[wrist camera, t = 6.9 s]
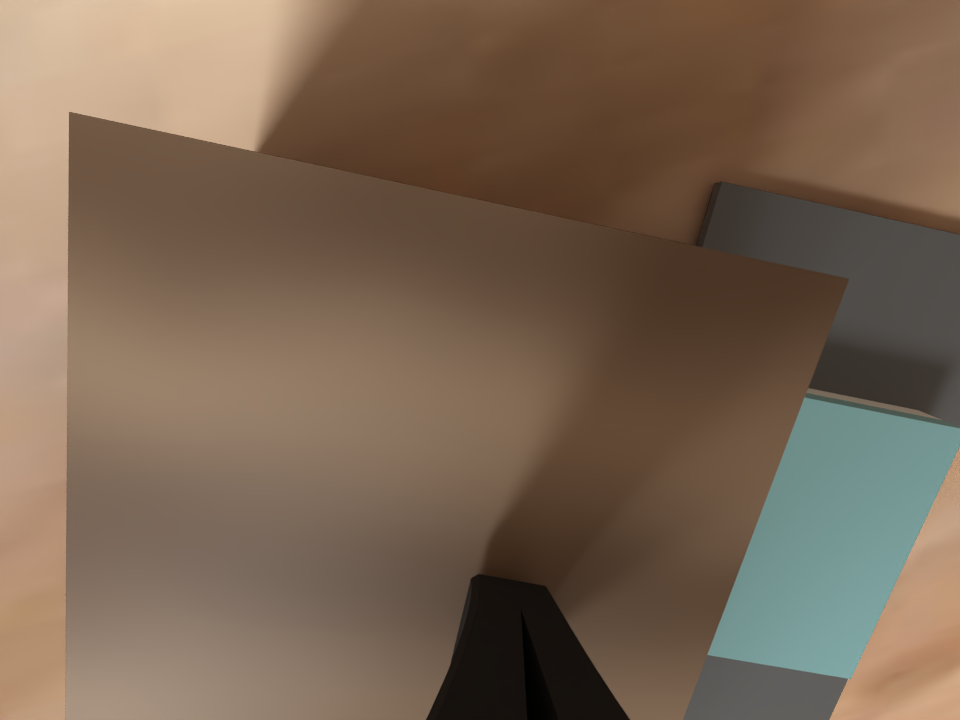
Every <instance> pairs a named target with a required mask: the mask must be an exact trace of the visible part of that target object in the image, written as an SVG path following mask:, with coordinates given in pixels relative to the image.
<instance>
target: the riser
mask: <svg viewBox="0 0 960 720" xmlns="http://www.w3.org/2000/svg"><path fill="white" fill-rule="evenodd" d="M848 281H849V279H848V278H843V277H838V276H834V275H829V274H824V273H820V272H815V271H810V270H806V269H801V268H796V267H792V266H787V265H782V264H778V263H773V262H768V261H764V260H759V259H754V258H750V257H745V256H740V255H736V254H731V253H726V252H722V251H717V250H712V249H708V248H703V247H698V246H694V245H689V244H684V243H679V242H675V241H670V240H665V239H661V238H656V237H651V236H647V235H642V234H637V233H633V232H628V231H623V230H619V229H614V228H609V227H605V226H600V225H595V224H591V223H586V222H581V221H577V220H572V219H567V218H563V217H558V216H553V215H549V214H544V213H539V212H535V211H530V210H525V209H521V208H516V207H511V206H507V205H502V204H497V203H493V202H488V201H483V200H479V199H474V198H469V197H464V196H460V195H455V194H450V193H446V192H441V191H436V190H432V189H427V188H422V187H418V186H413V185H408V184H404V183H399V182H394V181H390V180H385V179H380V178H376V177H371V176H366V175H362V174H357V173H352V172H348V171H343V170H338V169H334V168H329V167H324V166H320V165H315V164H310V163H306V162H301V161H296V160H292V159H287V158H282V157H278V156H273V155H268V154H264V153H259V152H254V151H249V150H245V149H240V148H235V147H231V146H226V145H221V144H217V143H212V142H207V141H203V140H198V139H193V138H189V137H184V136H179V135H175V134H170V133H165V132H161V131H156V130H151V129H147V128H142V127H137V126H133V125H128V124H123V123H119V122H114V121H109V120H105V119H100V118H95V117H91V116H86V115H81V114H77V113H72V112H69V216H68V368H67V520H66V671H65V720H426V719H427V716H428V714H429V712H430V710H431V708H432V706H433V703H434V701H435V699H436V697H437V694H438V692H439V690H440V688H441V685H442V683H443V681H444V679H445V676H446V674H447V672H448V669H449V667H450V664H451V659H452V655H453V650H454V646H455V642H456V638H457V634H458V630H459V626H460V621H461V617H462V613H463V609H464V605H465V601H466V597H467V592H468V588H469V584H470V580H471V578H472V577H474V576H476V575H477V574H483V575H488V576H494V577H499V578H505V579H510V580H516V581H521V582H527V583H533V584H538V585H544V586H546V587H547V589H548V590H549V592H550V593H551V595H552V597H553V598H554V600H555V602H556V603H557V605H558V607H559V608H560V610H561V612H562V613H563V615H564V617H565V619H566V620H567V622H568V624H569V625H570V627H571V629H572V630H573V632H574V634H575V635H576V637H577V638H578V640H579V642H580V643H581V645H582V647H583V648H584V650H585V652H586V653H587V655H588V656H589V658H590V660H591V661H592V663H593V664H594V666H595V667H596V669H597V670H598V672H599V674H600V675H601V677H602V678H603V680H604V681H605V683H606V684H607V686H608V687H609V689H610V690H611V692H612V693H613V695H614V696H615V698H616V700H617V701H618V703H619V704H620V705H621V707H622V708H623V710H624V711H625V713H626V714H627V716H628V717H629V719H630V720H683V718H684V716H685V713H686V710H687V708H688V705H689V702H690V700H691V697H692V694H693V692H694V689H695V686H696V684H697V681H698V678H699V676H700V673H701V670H702V668H703V665H704V663H705V660H706V657H707V655H708V652H709V649H710V647H711V644H712V641H713V639H714V636H715V633H716V631H717V628H718V625H719V623H720V620H721V618H722V615H723V612H724V610H725V607H726V604H727V602H728V599H729V596H730V594H731V591H732V588H733V586H734V583H735V580H736V578H737V575H738V572H739V570H740V567H741V565H742V562H743V559H744V557H745V554H746V551H747V549H748V546H749V543H750V541H751V538H752V535H753V533H754V530H755V527H756V525H757V522H758V519H759V517H760V514H761V512H762V509H763V506H764V504H765V501H766V498H767V496H768V493H769V490H770V488H771V485H772V482H773V480H774V477H775V474H776V472H777V469H778V467H779V464H780V461H781V459H782V456H783V453H784V451H785V448H786V445H787V443H788V440H789V437H790V435H791V432H792V429H793V427H794V424H795V421H796V419H797V416H798V414H799V411H800V408H801V406H802V403H803V400H804V398H805V395H806V392H807V390H808V387H809V384H810V382H811V379H812V376H813V374H814V371H815V369H816V366H817V363H818V361H819V358H820V355H821V353H822V350H823V347H824V345H825V342H826V339H827V337H828V334H829V331H830V329H831V326H832V323H833V321H834V318H835V316H836V313H837V310H838V308H839V305H840V302H841V300H842V297H843V294H844V292H845V289H846V286H847V284H848Z"/></svg>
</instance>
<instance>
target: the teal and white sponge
mask: <svg viewBox="0 0 960 720" xmlns="http://www.w3.org/2000/svg"><path fill="white" fill-rule="evenodd" d="M959 446H960V427H958V426H956V425H953V424H951V423H948V422H946V421H943V420H941V419H939V418H936V417H934V416H931V415H929V414H926V413H924V412H921V411H919V410H914V409H909V408H905V407H900V406H895V405H890V404H885V403H880V402H875V401H870V400H865V399H860V398H855V397H850V396H845V395H840V394H835V393H830V392H825V391H820V390H815V389H810V388H808V390H807V392H806V395H805V398H804V400H803V403H802V406H801V408H800V411H799V414H798V416H797V419H796V421H795V424H794V427H793V429H792V432H791V435H790V437H789V440H788V443H787V445H786V448H785V451H784V453H783V456H782V459H781V461H780V464H779V467H778V469H777V472H776V474H775V477H774V480H773V482H772V485H771V488H770V490H769V493H768V496H767V498H766V501H765V504H764V506H763V509H762V512H761V514H760V517H759V519H758V522H757V525H756V527H755V530H754V533H753V535H752V538H751V541H750V543H749V546H748V549H747V551H746V554H745V557H744V559H743V562H742V565H741V567H740V570H739V572H738V575H737V578H736V580H735V583H734V586H733V588H732V591H731V594H730V596H729V599H728V602H727V604H726V607H725V610H724V612H723V615H722V618H721V620H720V623H719V625H718V628H717V631H716V633H715V636H714V639H713V641H712V644H711V647H710V649H709V652H708V655H710V656H716V657H722V658H728V659H734V660H740V661H746V662H752V663H758V664H764V665H770V666H776V667H782V668H788V669H794V670H800V671H806V672H811V673H817V674H823V675H829V676H835V677H841V678H847V679H851V677H852V675H853V673H854V671H855V669H856V667H857V665H858V662H859V660H860V658H861V656H862V654H863V652H864V650H865V647H866V645H867V643H868V641H869V639H870V637H871V635H872V632H873V630H874V628H875V626H876V624H877V622H878V620H879V617H880V615H881V613H882V611H883V609H884V607H885V605H886V603H887V600H888V598H889V596H890V594H891V592H892V590H893V588H894V585H895V583H896V581H897V579H898V577H899V575H900V573H901V570H902V568H903V566H904V564H905V562H906V560H907V558H908V555H909V553H910V551H911V549H912V547H913V545H914V543H915V541H916V538H917V536H918V534H919V532H920V530H921V528H922V526H923V523H924V521H925V519H926V517H927V515H928V513H929V511H930V508H931V506H932V504H933V502H934V500H935V498H936V496H937V493H938V491H939V489H940V487H941V485H942V483H943V481H944V479H945V476H946V474H947V472H948V470H949V468H950V466H951V464H952V461H953V459H954V457H955V455H956V453H957V451H958V449H959Z"/></svg>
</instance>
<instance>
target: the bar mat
mask: <svg viewBox="0 0 960 720" xmlns="http://www.w3.org/2000/svg"><path fill="white" fill-rule="evenodd" d="M696 246H698V247H703V248H708V249H712V250H717V251H722V252H726V253H731V254H736V255H740V256H745V257H750V258H754V259H759V260H764V261H768V262H773V263H778V264H782V265H787V266H792V267H796V268H801V269H806V270H810V271H815V272H820V273H824V274H829V275H834V276H838V277H843V278H848V279H849V281H848V284H847V286H846V289H845V292H844V294H843V297H842V300H841V302H840V305H839V308H838V310H837V313H836V316H835V318H834V321H833V323H832V326H831V329H830V331H829V334H828V337H827V339H826V342H825V345H824V347H823V350H822V353H821V355H820V358H819V361H818V363H817V366H816V369H815V371H814V374H813V376H812V379H811V382H810V384H809V387H808V388H810V389H815V390H820V391H825V392H830V393H835V394H840V395H845V396H850V397H855V398H860V399H865V400H870V401H875V402H880V403H885V404H890V405H895V406H900V407H905V408H909V409H914V410H919V411H921V412H924V413H926V414H929V415H931V416H934V417H936V418H939V419H941V420H943V421H946V422H948V423H951V424H953V425H956V426H958V427H960V235H959V234H955V233H950V232H946V231H941V230H937V229H932V228H928V227H923V226H919V225H914V224H910V223H905V222H901V221H896V220H892V219H887V218H883V217H878V216H874V215H869V214H865V213H860V212H856V211H851V210H847V209H842V208H838V207H833V206H829V205H824V204H820V203H815V202H811V201H806V200H802V199H797V198H793V197H788V196H784V195H779V194H775V193H770V192H766V191H761V190H757V189H752V188H748V187H743V186H739V185H734V184H730V183H725V182H719V183H715V185H714V188H713V192H712V195H711V198H710V202H709V205H708V208H707V212H706V215H705V218H704V222H703V225H702V228H701V232H700V235H699V238H698V242H697V245H696ZM847 680H848V679H847V678H841V677H835V676H829V675H823V674H817V673H811V672H806V671H800V670H794V669H788V668H782V667H776V666H770V665H764V664H758V663H752V662H746V661H740V660H734V659H728V658H722V657H716V656H710V655H707V657H706V660H705V663H704V665H703V668H702V670H701V673H700V676H699V678H698V681H697V684H696V686H695V689H694V692H693V694H692V697H691V700H690V702H689V705H688V708H687V710H686V713H685V716H684V718H683V720H829V719H830V717H831V715H832V712H833V710H834V708H835V706H836V704H837V702H838V700H839V697H840V695H841V693H842V691H843V689H844V687H845V684H846V682H847Z"/></svg>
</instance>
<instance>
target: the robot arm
mask: <svg viewBox="0 0 960 720" xmlns="http://www.w3.org/2000/svg"><path fill="white" fill-rule="evenodd" d="M426 720H630V719H629V717H628V716H627V714H626V713H625V711H624V710H623V708H622V707H621V705H620V704H619V703H618V701H617V700H616V698H615V696H614V695H613V693H612V692H611V690H610V689H609V687H608V686H607V684H606V683H605V681H604V680H603V678H602V677H601V675H600V674H599V672H598V670H597V669H596V667H595V666H594V664H593V663H592V661H591V660H590V658H589V656H588V655H587V653H586V652H585V650H584V648H583V647H582V645H581V643H580V642H579V640H578V638H577V637H576V635H575V634H574V632H573V630H572V629H571V627H570V625H569V624H568V622H567V620H566V619H565V617H564V615H563V613H562V612H561V610H560V608H559V607H558V605H557V603H556V602H555V600H554V598H553V597H552V595H551V593H550V592H549V590H548V589H547V587H546V586H544V585H538V584H533V583H527V582H521V581H516V580H510V579H505V578H499V577H494V576H488V575H483V574H477V575H476V576H474V577H472V578H471V580H470V584H469V588H468V592H467V597H466V601H465V605H464V609H463V613H462V617H461V621H460V626H459V630H458V634H457V638H456V642H455V646H454V650H453V655H452V659H451V664H450V667H449V669H448V672H447V674H446V676H445V679H444V681H443V683H442V685H441V688H440V690H439V692H438V694H437V697H436V699H435V701H434V703H433V706H432V708H431V710H430V712H429V714H428V716H427V719H426Z"/></svg>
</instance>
